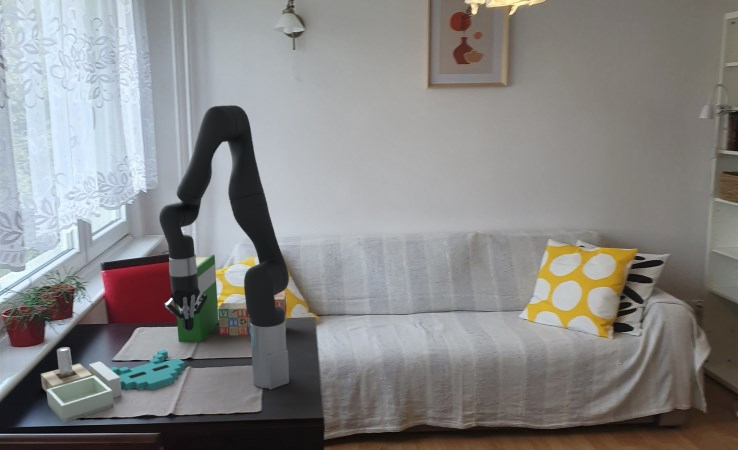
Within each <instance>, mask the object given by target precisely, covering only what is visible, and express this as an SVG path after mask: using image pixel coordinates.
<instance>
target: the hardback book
mask: <svg viewBox="0 0 738 450" xmlns="http://www.w3.org/2000/svg"><path fill="white" fill-rule="evenodd" d="M215 258H216V256H215V254H211V255H210V256H209V257H208V256H197V255H196V254H195V259H196V264H197V275H198V288H199V290H200V293H202V294H204V295H206V296H207V300H206V301H205V303H204V305H203V307H202V309H201V310H200V312H199V314H196V315H194V317H193V321H194V327H193V329H192V330H190V331H186V330H185V329H183V325H182V318H181V319H180V318H178V317H176V324H177V327H176V328H177V337H178V338H177V339H178V342H179V343H180V342H183V343H184V342H186V343H202V342H204V340H205V339H206V337H208V335H210V334H211V332H212V331H213V330H214V329H215V327H217V325H219V312H218V309H219V304H218V302H219V301H218V292H217V291H218V290H217V289H218V286H217V274H216V272H217V271H216V259H215ZM197 300H198V299H197ZM197 300H196V301H197ZM195 303H196V302H195ZM175 309H176V310H178V311H179V312H180V310H179V306H178V305H177V304H176V303H175Z"/></svg>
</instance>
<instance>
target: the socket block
mask: <svg viewBox="0 0 738 450" xmlns="http://www.w3.org/2000/svg"><path fill="white" fill-rule="evenodd" d="M72 370H73V376H70V377H67V378H63V379H60V373H59V368H58V369H55V370H51V371H47V372H43V373H40V378H41V379H40V381H41V388H42V389H43V390H44V391H45V392H46V393H47V389H50V388H53V387H57V386H60V385H64V384H67V383H71V382H74V381H78V380H81V379H85V378H88V377H91V376H92V374H91V373H90V370H88V369H86V368H85V367H84V366H83V365H82V364H81V363H76V364H72Z"/></svg>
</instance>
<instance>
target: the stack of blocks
mask: <svg viewBox="0 0 738 450" xmlns="http://www.w3.org/2000/svg"><path fill="white" fill-rule="evenodd" d="M274 299H275V306H276V307H280V308H282V309H283V310H284V312H285V332H286V333H287V328H288V327H287V325H288V324H287V323H288V322H287V321H288V320H287V295H286V293H278V294H276V295H274ZM218 318H219V323H218V325H219V336H251V326H250V317H249V315H248V312H247V309H246V302H222V303H221V304H220V306H218Z"/></svg>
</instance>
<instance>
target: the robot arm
mask: <svg viewBox="0 0 738 450" xmlns="http://www.w3.org/2000/svg"><path fill="white" fill-rule="evenodd" d="M252 134H253V133H252V129H251V123H250V120H249V117H248V115H247V112H246V110H244V109H243V108H242V107H240V106H238V105H231V104H230V105H229V104H228V105H215V106H212V107H210V108H208V109H207V110H206V111H205V113H204V115H203V117H202V120H201V122H200V126H199V130H198V132H197V136H196V140H195V143H194V146H193V151H192V154H191V157H190V159H189V163H188V165H187V167H186V169H185V172H184V174H183V176H182V178H181V180H180V182H179V184H178V186H177V188H176V196H177V198H178V199H179V200H180V201H179V202H174V203H169V204H166V205H164V206H162V207H161V210H160V211H159V217H158V218H159V223H160V227H161V229H162V232H163V235H164V237H165V240H166V242H167V246H168V247H167V248H168V259H169V263H168V268H169V269H168V272H169V278H170V279H169V280H170V281H169V282H170V289H171V293H170V299H169V300H168V301H167V302H164V303H163V305H164V307H165V308H166V309H167V310H168V311H169V312H170V313H171V314H173V316H175V318H177V317H178V318H180V319H181V318H182V325H183V329H185V330H186V331H190V330H192V329H193V327H194V321H193V317H194V315H196V314H199V312H200V310H201V309H202V307H203V305H204V303H205V301H206V300H207V296H206V295H204V294H202V293H200V290H199V288H198V275H197V264H196V259H195V255H196V253H195V241H194V239H193V237H192V235H188V234H184V233H183V231H182V228H184V227H187V226H191V225H192V224H193V223H195V222H196V220H197V219H198V217H199V213H200V207H201V203H202V199H203V197H204V195H205V193H206V191H207V189H208V186H209V185H210V183H211V181H212V175H213V168H212V167H213V166H212V165H213V164H212V163H213V158H214V155H215V153H216V152H217V150H218V149H219V147H220V146H221V145H222V143H226V142H227V144H228V147H229V152H230V156H231V171H230V176H229V182H228V189H227V191H228V192H227V193H228V194H227V196H228V200H229V203H230V207H231V211H232V215H233V217H234V220H235V221H236V223H237V225H238V226H239V228H241V230H242V231H243V232H244V233H245V234H246V236H247V237H248V238H249V239H250V240H251V243H252V244H253V246H254V249H255V252H256V255H257V260H258V264H255V265H252V266H251V267H250V268H248V269H247V271H246V272H245V274H244V278H243V279H244V280H243V287H244V289H243V290H244V299H245V303H246V309H247V312H248V315H249V317H250V326H251V335H250V343H251V363H252V364H251V365H252V379H253V385H255V386H256V387H257V388H262V389H269V390H273V389H277V388H278V387H282V386H285V385H286V384H289V383H290V371H289V366H290V365H289V350H288V349H287V336H286V333H287V331H286V332H285V312H284V310H283V309H282V308H280V307H276V306H275V299H274V295H276V294H281V293H283V292H284V291H285V290H286V289H287V287H288V286H289V282H290V276H289V274H290V273H289V271H288V267H287V264H286V261H285V258H284V256H283V253H282V251H281V248H280V245H279V242H278V240H277V236H276V233H275V229H274V225H273V222H272V218H271V215H270V211H269V206H268V201H267V198H266V193H265V190H264V187H263V184H262V180H261V176H260V172H259V168H258V164H257V159H256V154H255V150H254V149H255V147H254V142H253V135H252ZM197 299H198V300H197ZM196 300H197V301H196ZM195 302H196V303H195ZM176 304H177V305H178V306H179V310H180V312H179V311H178V310H176Z"/></svg>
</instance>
